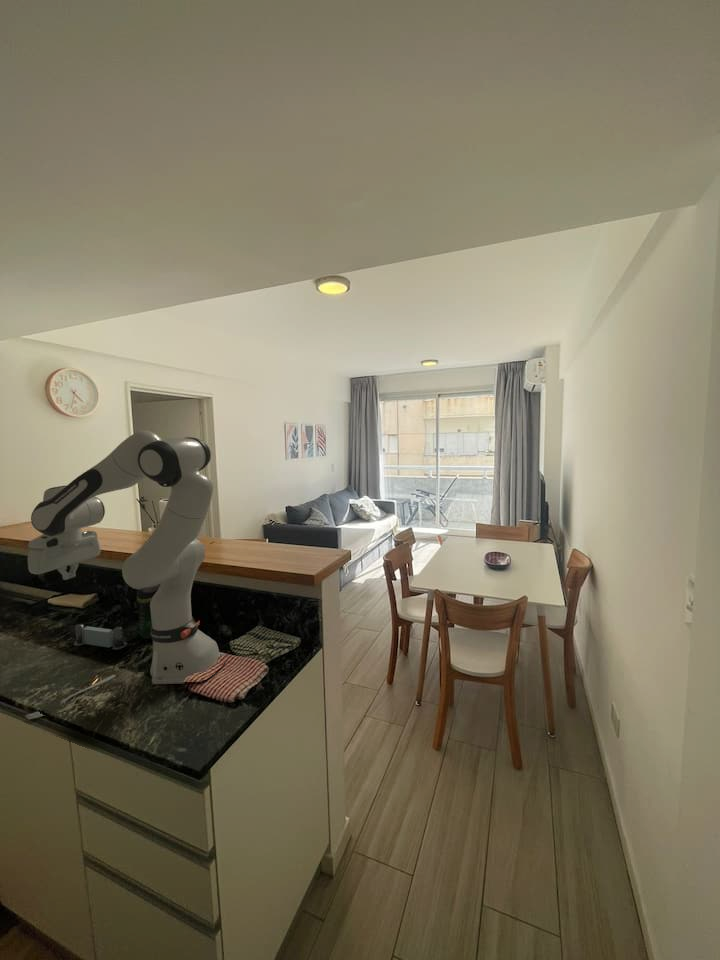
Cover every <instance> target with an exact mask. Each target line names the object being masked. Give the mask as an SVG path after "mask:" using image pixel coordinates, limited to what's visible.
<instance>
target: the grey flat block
mask: <svg viewBox="0 0 720 960" xmlns="http://www.w3.org/2000/svg"><path fill="white" fill-rule="evenodd" d="M113 631H114V629H110V628H102V627H96V626H89V625H86V626H84V628H82V629H81V633H82V642H83V644H84V645H91V646H95V647H102V648H103V647H104V648H111V647H113V646H114V645H115V644H114V638H113Z"/></svg>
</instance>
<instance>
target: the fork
mask: <svg viewBox="0 0 720 960" xmlns="http://www.w3.org/2000/svg"><path fill="white" fill-rule="evenodd" d="M116 676H117V675H116V674H112V675H110V676H108V677H106V678H104V679H102V680H100V681H98V682H97V683H93V684H92V685H90V686H88V687H86V688H84V689H81V690H79V691H77V692H75V693H73V694H71V695H69V696H68V697H66V698H65V699H63V700H62V701H61V702H64V704H66V702H67V701H68V700H69V699H71V698H72V697H74V696H76V695H79V694H81V693H83V692H86V691H88V690H90V689H92V688H95V687H97V686H100V685H102V684H104V683H106V682H108V681H109V680H112V679H113V678H115V677H116ZM44 716H45V715H43V714H42V713H41V714H40V712H39V711H36V712H32V713H29V714H26V715H24V717H25V718H26V719H27V720H32V719H37V718H40V717H44Z"/></svg>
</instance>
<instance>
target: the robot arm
mask: <svg viewBox="0 0 720 960" xmlns="http://www.w3.org/2000/svg"><path fill="white" fill-rule="evenodd" d="M211 455H212V453H211V449H210V447H209V445H208V444H207V442H205V441H204V440H202V439H199V438H196V437H192V436H191V437H190V436H189V437H171V438H165V439H162V437H161V436H160V435H158V434H157V433H155V432H153V431H152V430H145V429H144V430H139V431H136V432H135V433H133V434H132V435H130V436H128V437H127V438H125V439H124V440H123V441H122V442H121V443H119V445H117V446H116V447H115V448H114V449H113V450H112V452H110V453H109V454H108V455H107V456H105V457H104V458H103V459H102V460H101V461H99V462H98V463H96V464H95V465H94V466H92V467H91V468H89V469H87V470H86V471H84V472H82V473H81V474H80V475H78V476H77V477H76V478H75V479H73V480H72V481H71V482H69V483H68V484H66V485H61V486H60V485H59V486H53V487H50V488H47V489H46V490H45V491H44V492H43V497H42V498H43V499H42V501H40V502H39V503H38V504H37V505H36V506H35V507H34V509H33V510H32V512H31V515H30V520H31V521H30V522H31V526H33V527H32V528H34V529H35V530H36V531H38V532H39V533H41V534H40V535H39V536H37V537H36V538H33V539H31V540H29V542H28V544H27V545H28V548H29V549H30V550H29V551H28V553H27V569H28V571H29V573H30V574H33V575H42V574H44V573H48V572H51V571H52V572H53V571H54V570H57V572H59V573H60V574H61V575H62V580H65V581H66V580H67V581H68V580H69V579H73V578H75V577H76V576H77V575H76V571H77V569H78V568H79V566H80V565H79V563H80V562H84V561H87V560H90V559H94V558H96V557H99V556H100V554H101V547H100V542H99V540H98V533H97V532H96V531H95V530H92V529H90V530H86V531H82V528H87V527H90V526H95V525H96V524H99V523H101V522H102V521H103V519H104V517H105V515H106V509H105V508H106V507H105V505H104V503H103V501H102V500H101V499H100V498H99V497H97V496H100V495H103V494H106V493H107V494H108V493H110V492H115V491H120V490H126V489H128V488H131V487H134V486H136V485H137V484H139V483H140V482H142V481H143V480H144V479H145V478H148V479H149V480H151V481H153V482H156V483H157V484H158V485H159V486H161V487H163V488H169V487H170V489H171V490H170V494H169V497H168V500H167V502H166V504H165V508H164V510H163V512H162V515H161V517H160V521H159V523H158V524H157V526H156V528H155V529H154V531H153V532H152V533H151V534H150V535H149V537H148V538H147V540H146V541H145V542H144V543H143V544H142V545H141V546H140V547H139V548H138V549H137V551H135V552H134V553H133V554H131V555H130V556H129V557H127V558H126V559H125V560H124V562H123V565H122V567H121V568H122V569H121V572H122V573H121V574H122V578H123V580H124V582H125V583H126V585H128V586H129V587H131V588H132V589H135V590H137V589H142V588H148V587H153V586H156V585H158V584H161V585H160V587H159V589H158V591H157V592H156V593H155V595H154V596H153V597H152V599H151V602H150V610H151V620H152V625H151V638H150V639H151V640H152V659H151V666H150V670H149V674H150V676H151V684H153V685H168V684H170V685H173V684H184V683H183V681H184V680H185V678H186V677H188V676H190V675H192V674H194V673H197V672H203V671H205V670H207V669H208V668H210V667H211V666H213V665H214V664H215V663H216V661H217V660H218V658H219V656H220V654H226V653H224V652H221V651H220V650H219V646H218V644H217V642H216V640H215V639H212V638H211V637H210V636H208V634H205V633H204V632H203V631H201V630H200V629H199V625H200V624H201V623H200V622H201V620H198V621H197V622H196V619H194V617H193V616H192V603H191V602H192V601H191V600H192V597H191V595H192V588H193V583H194V581H195V580H194V579H195V577H196V574H197V572H198V569H199V568H200V566H201V565H202V563H203V562H204V560H205V557H206V550H205V547H204V544H203V543H202V541H200V540H199V539H198V538H197V537H198V536H199V534H200V532H201V529H202V526H203V524H204V521H205V519H206V516H207V515H208V512H209V508H210V506H211V501H212V498H213V491H214V484H213V482H212V479H210V478H209V477H208V476H207V475H205V474H203V473H201V471H202V470H204V469H205V468H206V467H207V466H208V465H209V464H210V461H211V458H212V457H211ZM68 566H69V567H70V569H69V572H68V571H67V568H68Z"/></svg>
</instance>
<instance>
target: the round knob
mask: <svg viewBox="0 0 720 960" xmlns="http://www.w3.org/2000/svg"><path fill="white" fill-rule="evenodd" d="M84 627H85V625H84V623H80V624H76V625H75V626H74V628H75V639H76V641H75V642H73V647H81V646H84V645H85V644H83V642H82V633H81V629H82V628H84Z"/></svg>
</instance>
